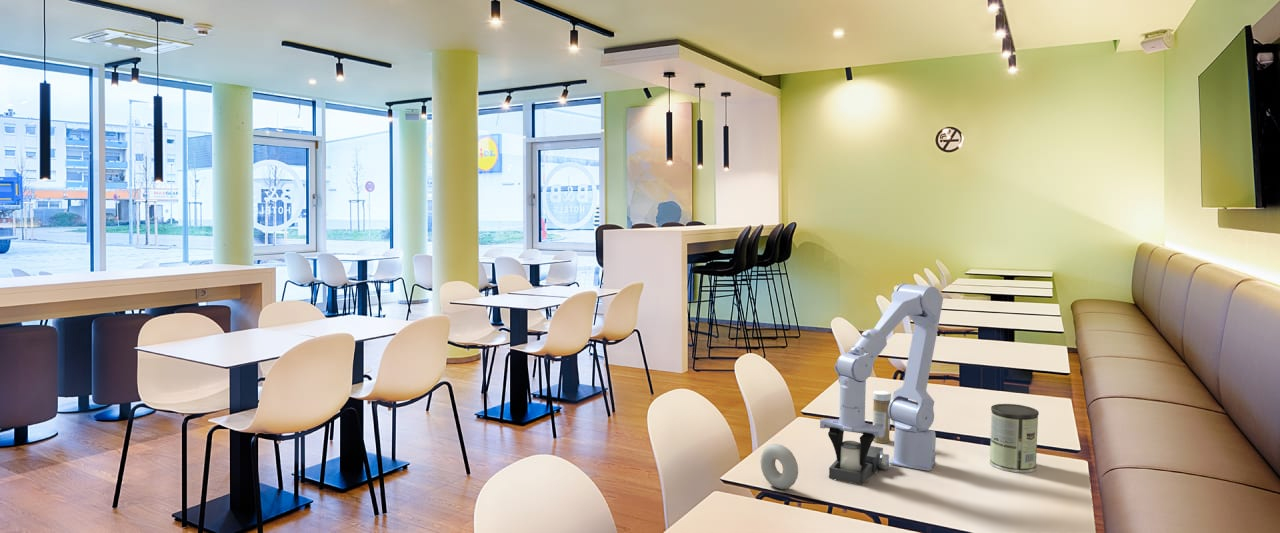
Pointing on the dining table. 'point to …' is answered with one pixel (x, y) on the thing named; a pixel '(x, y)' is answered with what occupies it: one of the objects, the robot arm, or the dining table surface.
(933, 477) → the dining table surface
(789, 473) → the donut
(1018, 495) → the dining table surface
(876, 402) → the sprinkles bottle
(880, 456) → the drawer
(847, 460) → the white gray cylinder
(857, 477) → the dark grey square tray
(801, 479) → the dining table surface
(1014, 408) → the coffee can
